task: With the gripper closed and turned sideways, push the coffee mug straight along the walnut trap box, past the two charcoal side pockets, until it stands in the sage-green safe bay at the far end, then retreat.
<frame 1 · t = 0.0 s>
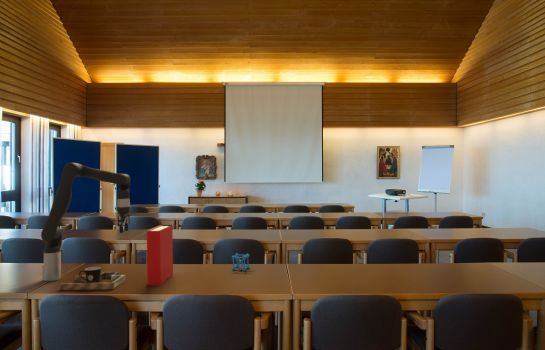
hand: (123, 231, 256), 29 cm above the table, fingers open, 8 cm apart
book: (160, 279, 254), on the table
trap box: (93, 285, 242), on the table
coffee mug: (91, 285, 242), resting in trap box
molecular structure: (240, 269, 278), on the table
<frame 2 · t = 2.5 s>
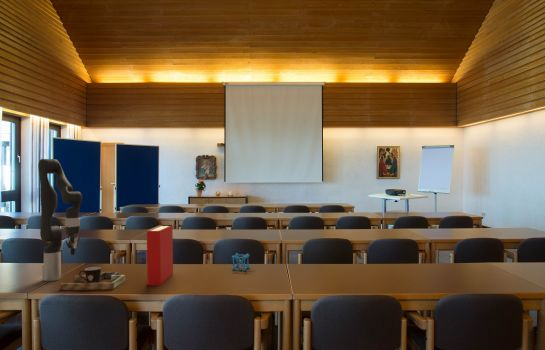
hand: (73, 254, 242), 18 cm above the table, fingers closed
nothing on the table moved.
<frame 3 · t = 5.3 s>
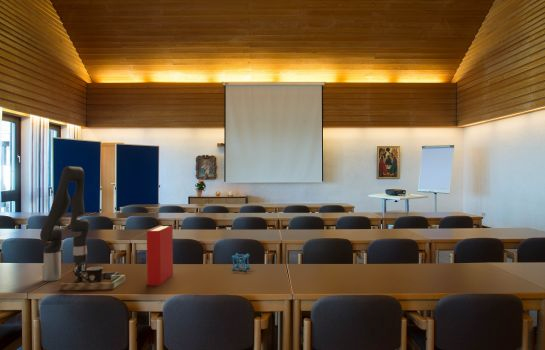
hand: (80, 282, 242), 2 cm above the table, fingers closed
coffee mug: (93, 285, 242), resting in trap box, touching gripper
everything else where it was.
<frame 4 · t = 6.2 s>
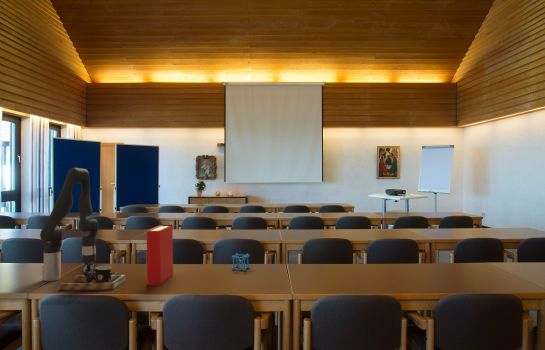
hand: (89, 282, 242), 2 cm above the table, fingers closed
coffee mug: (100, 284, 242), resting in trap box, touching gripper
everything else where it was.
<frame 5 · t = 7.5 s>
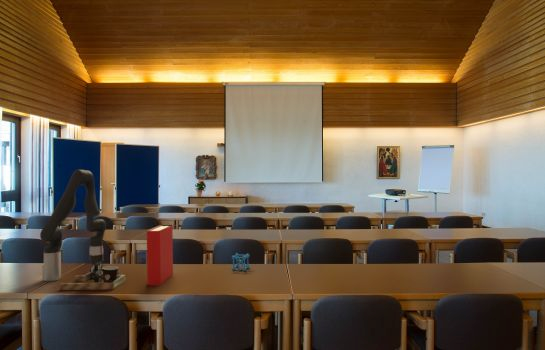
hand: (96, 282, 242), 1 cm above the table, fingers closed
coffee mug: (107, 284, 242), resting in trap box, touching gripper
everything else where it was.
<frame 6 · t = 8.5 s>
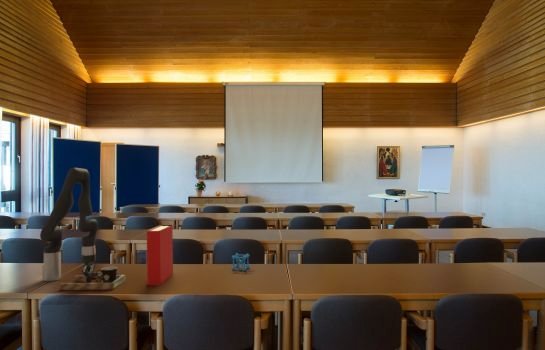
hand: (88, 282, 242), 1 cm above the table, fingers closed
coffee mug: (107, 285, 242), resting in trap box
everything else where it was.
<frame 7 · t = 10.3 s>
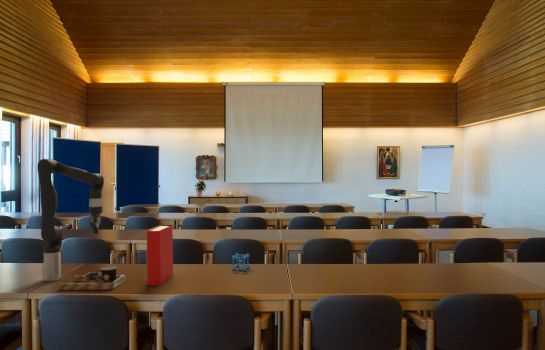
hand: (95, 233, 254), 29 cm above the table, fingers closed
nothing on the table moved.
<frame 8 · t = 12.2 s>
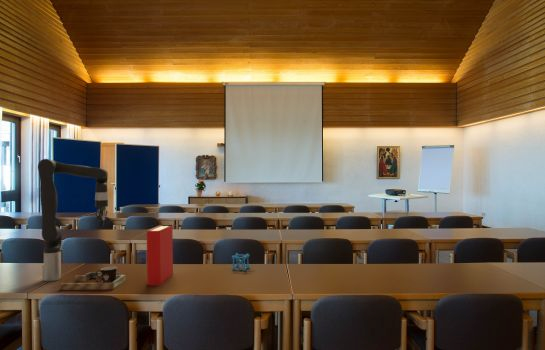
hand: (101, 226, 264), 32 cm above the table, fingers closed
nothing on the table moved.
at the end: coffee mug inside the target area (0.9 cm from its centre), resting in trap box; coffee mug tilted 1° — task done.
